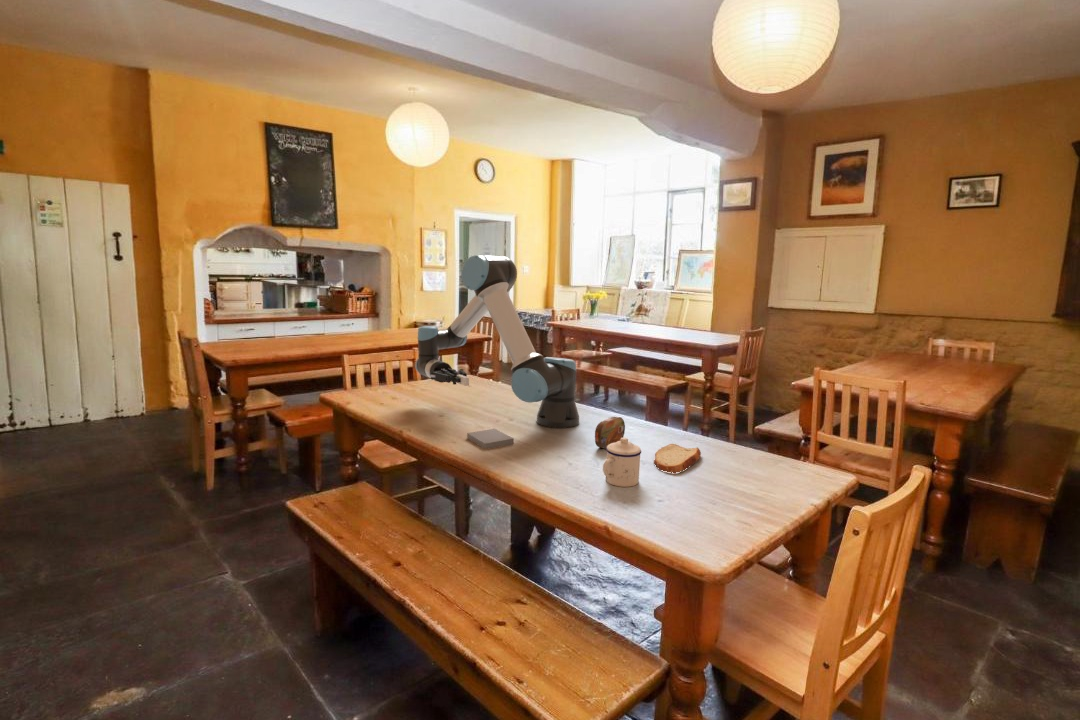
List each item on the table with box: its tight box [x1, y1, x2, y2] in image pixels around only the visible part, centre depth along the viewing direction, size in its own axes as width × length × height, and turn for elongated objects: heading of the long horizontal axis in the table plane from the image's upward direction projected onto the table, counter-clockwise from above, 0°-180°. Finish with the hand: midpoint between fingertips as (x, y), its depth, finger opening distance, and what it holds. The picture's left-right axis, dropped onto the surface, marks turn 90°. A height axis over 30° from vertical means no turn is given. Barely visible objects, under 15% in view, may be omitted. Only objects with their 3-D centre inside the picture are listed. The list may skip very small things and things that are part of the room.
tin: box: [594, 416, 626, 450], centre depth 175 cm, size 15×3×8 cm, turn 143°
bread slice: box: [653, 443, 702, 473], centre depth 163 cm, size 18×18×4 cm
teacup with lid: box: [602, 437, 642, 488], centre depth 145 cm, size 12×9×12 cm
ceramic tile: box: [466, 428, 515, 450], centre depth 176 cm, size 2×10×12 cm
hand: (467, 381), depth 188 cm, fingers closed
